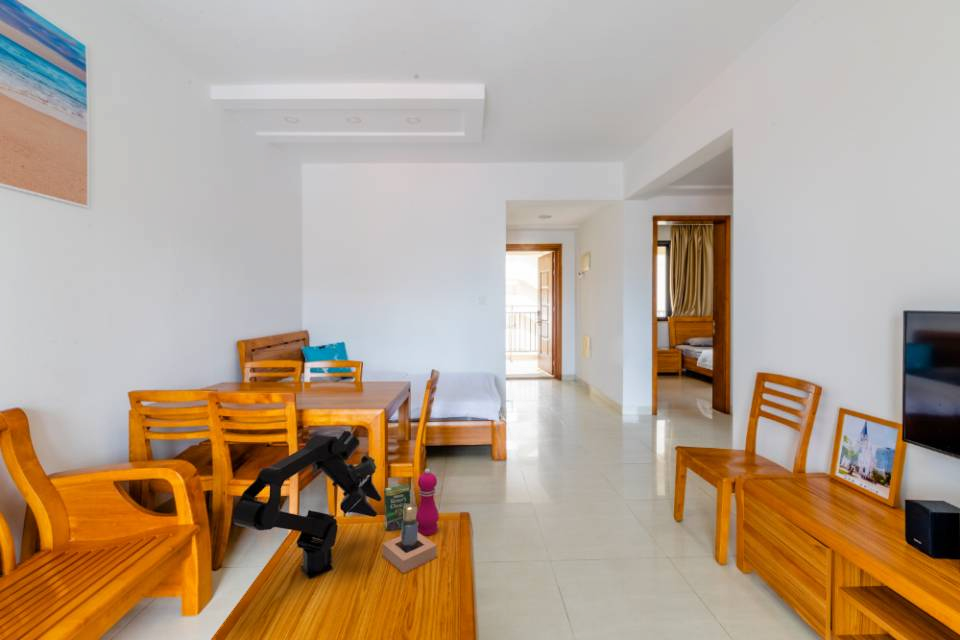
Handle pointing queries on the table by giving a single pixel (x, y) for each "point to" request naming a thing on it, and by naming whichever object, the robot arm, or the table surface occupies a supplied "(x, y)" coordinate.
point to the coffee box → (395, 505)
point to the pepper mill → (427, 504)
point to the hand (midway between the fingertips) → (378, 507)
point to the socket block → (409, 553)
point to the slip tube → (409, 528)
